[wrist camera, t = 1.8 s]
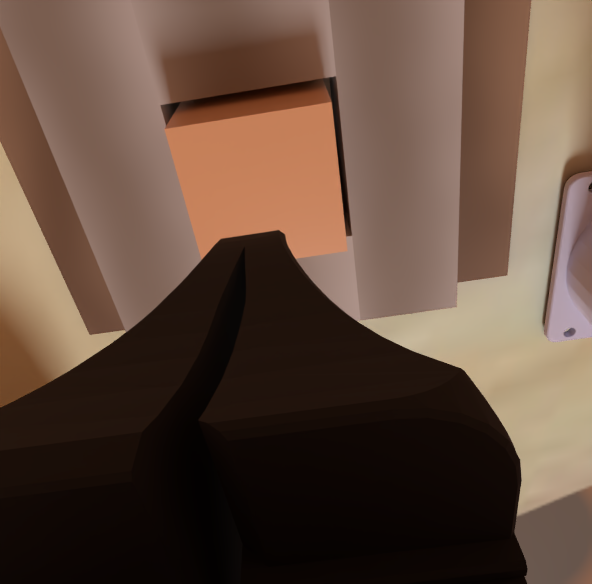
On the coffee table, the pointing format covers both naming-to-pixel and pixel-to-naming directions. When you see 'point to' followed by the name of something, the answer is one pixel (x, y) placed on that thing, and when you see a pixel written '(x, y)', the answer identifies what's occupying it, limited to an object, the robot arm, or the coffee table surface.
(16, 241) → the coffee table surface
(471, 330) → the coffee table surface
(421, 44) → the button board
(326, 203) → the button
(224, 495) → the robot arm
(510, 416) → the coffee table surface
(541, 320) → the coffee table surface
